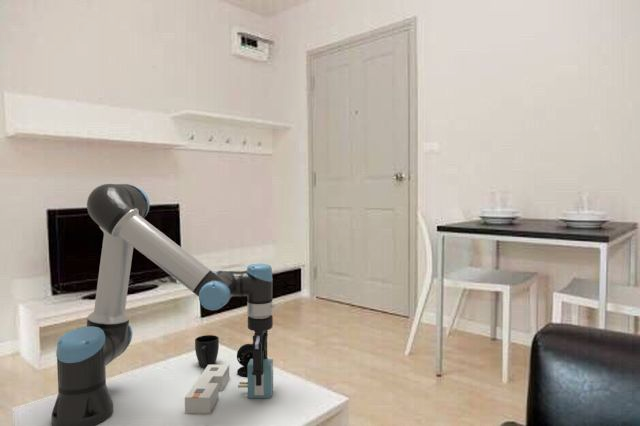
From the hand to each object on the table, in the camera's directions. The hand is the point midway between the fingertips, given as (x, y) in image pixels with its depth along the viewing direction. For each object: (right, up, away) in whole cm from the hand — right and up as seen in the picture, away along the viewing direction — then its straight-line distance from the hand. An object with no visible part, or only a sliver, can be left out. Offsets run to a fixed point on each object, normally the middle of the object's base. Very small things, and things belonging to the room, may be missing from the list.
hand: (260, 390), depth 138 cm
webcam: (-6, -1, +17) cm, 18 cm away
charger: (-2, -1, 0) cm, 2 cm away
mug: (-22, -1, +22) cm, 31 cm away
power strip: (-16, -1, +4) cm, 16 cm away
